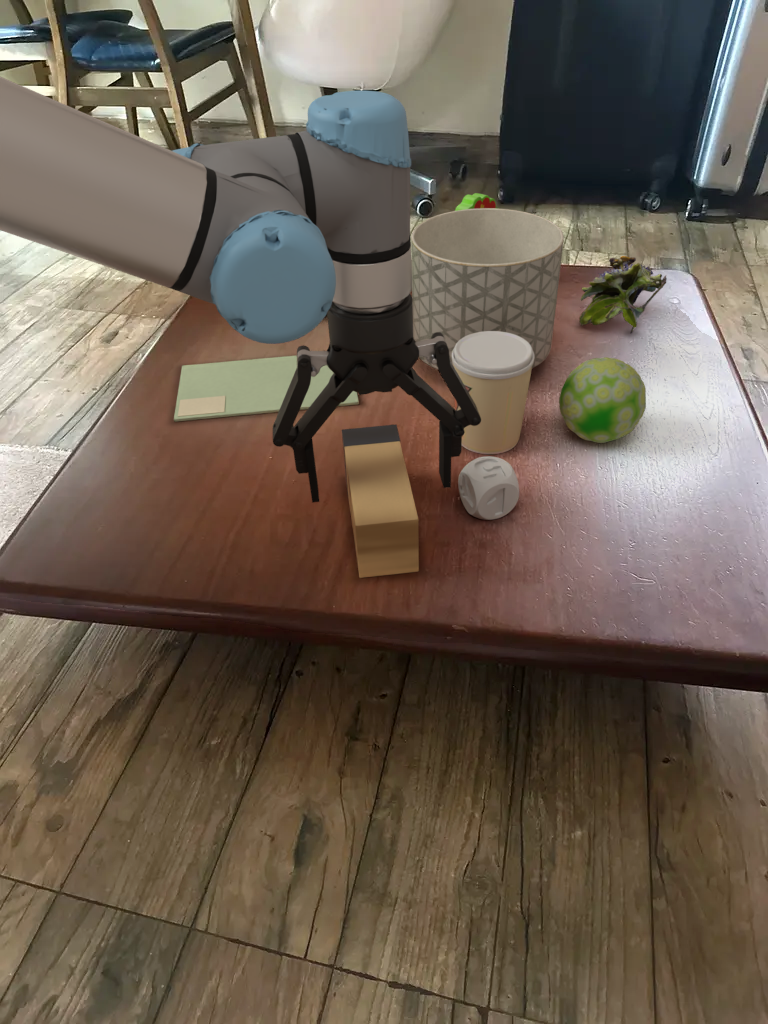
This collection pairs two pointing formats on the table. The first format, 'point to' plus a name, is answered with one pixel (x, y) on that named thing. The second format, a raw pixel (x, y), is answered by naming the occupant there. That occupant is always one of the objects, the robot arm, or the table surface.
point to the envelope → (243, 388)
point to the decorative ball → (602, 399)
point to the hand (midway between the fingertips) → (380, 487)
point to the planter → (486, 276)
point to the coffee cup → (494, 387)
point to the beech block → (380, 501)
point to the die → (488, 487)
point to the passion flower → (620, 292)
